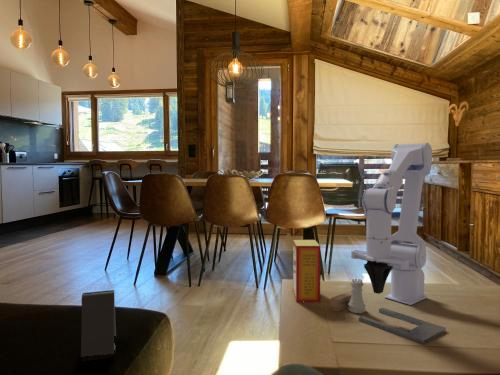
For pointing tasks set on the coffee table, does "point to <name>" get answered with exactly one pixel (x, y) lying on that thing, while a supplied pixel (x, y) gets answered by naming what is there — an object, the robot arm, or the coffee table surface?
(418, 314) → the coffee table surface
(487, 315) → the coffee table surface
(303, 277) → the baking soda box
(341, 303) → the stop block
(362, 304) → the rook chess piece
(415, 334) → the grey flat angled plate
